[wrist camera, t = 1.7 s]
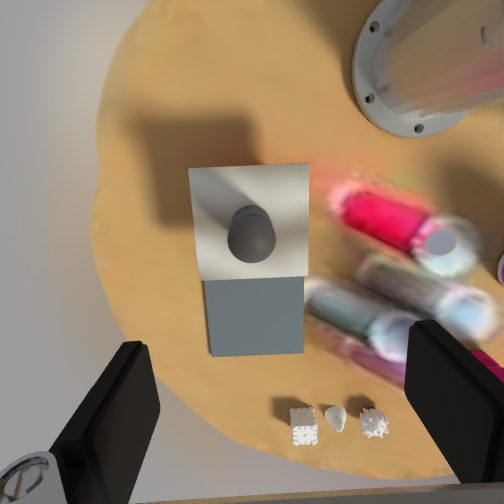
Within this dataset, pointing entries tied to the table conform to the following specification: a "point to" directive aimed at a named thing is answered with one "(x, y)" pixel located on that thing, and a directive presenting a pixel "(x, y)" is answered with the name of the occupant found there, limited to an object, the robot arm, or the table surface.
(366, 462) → the table surface
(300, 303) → the mat
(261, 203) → the lid
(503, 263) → the supplement bottle
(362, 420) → the game pieces
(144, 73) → the table surface
